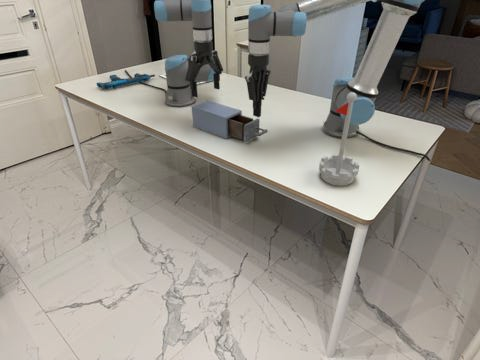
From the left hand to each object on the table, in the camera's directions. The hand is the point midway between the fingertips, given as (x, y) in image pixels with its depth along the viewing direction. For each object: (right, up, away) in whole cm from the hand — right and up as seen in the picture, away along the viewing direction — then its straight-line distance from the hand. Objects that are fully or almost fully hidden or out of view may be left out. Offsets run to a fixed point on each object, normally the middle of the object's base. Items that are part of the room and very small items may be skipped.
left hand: (206, 92), depth 147 cm
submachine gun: (-56, +23, +63) cm, 88 cm away
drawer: (+15, -19, -2) cm, 24 cm away
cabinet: (+4, -15, +5) cm, 16 cm away
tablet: (-20, +27, +69) cm, 77 cm away
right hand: (+21, -12, -13) cm, 28 cm away
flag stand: (+48, -37, -29) cm, 67 cm away
